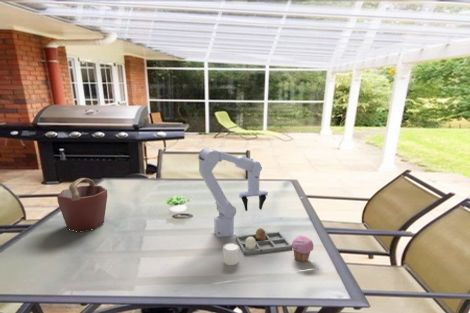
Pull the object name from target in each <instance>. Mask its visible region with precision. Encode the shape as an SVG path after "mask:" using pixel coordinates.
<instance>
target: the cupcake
mask: <svg viewBox="0 0 470 313" xmlns="http://www.w3.org/2000/svg"><path fill="white" fill-rule="evenodd" d="M291 246H292V250H293V257H294V260H295V261H299V262H300V261H301V262H302V263H303V262H307V261H308V260H309V259H310V255H311V253H312V251H313V250H314V243H313V240H312V239H310V238H308V236H304V235H298V236H296V237H295V239H293V240H292V242H291Z"/></svg>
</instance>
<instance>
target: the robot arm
mask: <svg viewBox="0 0 470 313" xmlns="http://www.w3.org/2000/svg"><path fill="white" fill-rule="evenodd" d="M197 158H198V172H199V174H200V176H201V178H202V180H203V181H204V183H205V185H206V187H207V188H208V191H209V192H210V193H211V195H212V197H213V199H214V200H215V203H214V204H215V205H216V210H217V212H218V216H214V223H213V225H214V230H213V231H214V233H215V236H216V238H221V237H229V236H230V237H231V236H237V233H236V232H235V227H234V226H235V224H234V223H235V222H234V221H235V220H234V219H235V216H236V214H237V208H236V206H234V205H232V203H231V201H230V200H229V199H228V198H227V196H226V195H225V193H224V191H223V190H222V187H221V186H220V184H219V182H218V181H217V179H216V176H215V175H214V173H213V170H214V169H215V168H216V165H217V164H218V163H220V162H222V161H225V162H229V163H232V164H234V165H235V167H237V168H240V169H242V170H245V171H247V191H243V192H239V193H238V196H239V198H240V199H241V200H242V202H243V207H244V210H245V212H248V203H249V199H248V197H249V198H250V197H258V208H259V211H262V209H263V205H264V203H265V202H266V200H267V196H269V194H268V193H269V192H268V191H267V190H260V175H261V172H262V170H263V166H262V165H261V163H260V162H259V161H256V160H254V158H248V157H246V155H238V156H234V155H232V154H229V153H227V152H225V151H222V150H218V149H214V148H211V149H210V148H209V147H204V148H202V149H201V150H200V152H199V154H198V157H197Z"/></svg>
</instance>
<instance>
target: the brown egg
mask: <svg viewBox="0 0 470 313" xmlns="http://www.w3.org/2000/svg"><path fill="white" fill-rule="evenodd" d="M265 233H266V231H265V229H264V228H257V229H256V231H255V234H256V241H264V240H265Z"/></svg>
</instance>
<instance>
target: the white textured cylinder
mask: <svg viewBox="0 0 470 313" xmlns="http://www.w3.org/2000/svg"><path fill="white" fill-rule="evenodd" d="M222 254H223V255H222V256H223V263H224V264H225V265H228V266H235V265H237V264H238V263H239V258H240V256H239V254H240V246H239V244H238V243H235V242H234V243H233V242H229V243H228V242H227V243H225V244H223V245H222Z"/></svg>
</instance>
